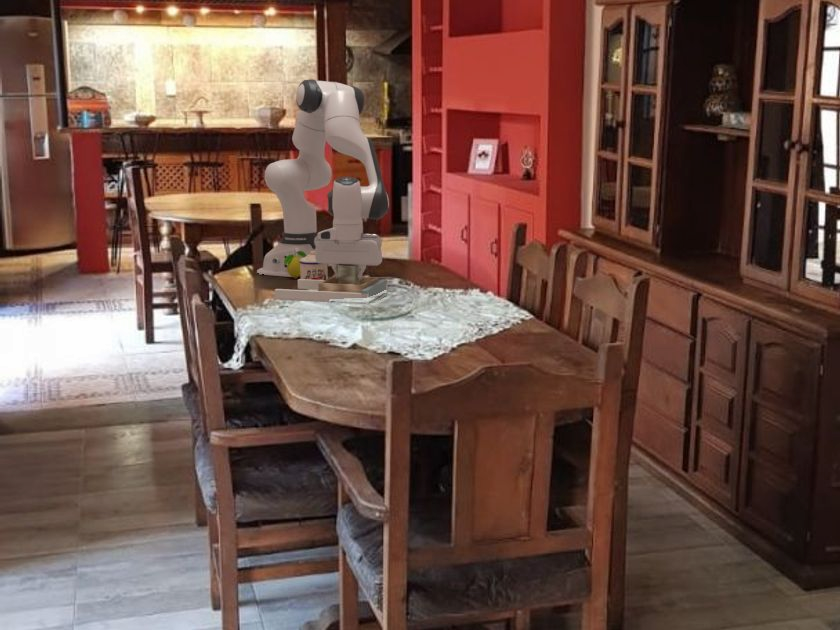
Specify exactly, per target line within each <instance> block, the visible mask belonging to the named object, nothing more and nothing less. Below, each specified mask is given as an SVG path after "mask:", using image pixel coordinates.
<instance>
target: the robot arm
mask: <svg viewBox="0 0 840 630" xmlns="http://www.w3.org/2000/svg"><path fill="white" fill-rule="evenodd" d="M295 97H296V99H295V100H296V105H297V107H298V109H299V113H298V116H297V119H296V122H295V125H294V130H293V133H292V137H291V140H292V144H293V145H294V146H295V148H296V149H297V150H298V151H299V153H298V156H297V158H293V159H292V158H289V159H280V160H277V161H274V162H271V163H269V164H268V165H267V166H266V168H265V171H264V182H265V185H266V186H267V188H268V189H269V190H270V191H272V192H273V193H274V194H275V195H276V197H277V199H278V201H279V203H280V206H281V209H282V215H283V216H282V217H283V229H284V231H283V232H281V233H280V234H278V235H277V239H278V240H279V243H278V244H277V245H275V246H274V247H273V248H272V249H271V250H270V251H268V252H267V253H266V254H265V256H264V257H263V265H262V267H260V268H258V269H257V270H256V274H257V273H259V274H258V275H262V274H264V276H275V277H276V276H277V277H289V278H294V277H293V276H291V275H289V273H288V271H287V264H288V263H287V264H284V260H285V258H286V257H287V256H288V255H293V257H294V256H296V257H298V258H300V259H301V258H303V257H301V256H300V255H298V254H297V253H296V252H299V251H303V252H304V253H305V254H306V255H310V252H311V251H315V260H316V261H317V263H322V264H332V266H331V269H332V270H333V273H334V272H335V273H336V279H338V265H341V264H348V265H359V268H360V272H359V273H357V274H356V280H362V278H363V277H364V276H363V273H365V270H366V269H367V266H374V267H376V266H379V265H380V264H381V263H382V262H383V253H382V245H383V244H382V241H383V240H382V237H381V236H380V235H378V234H377V233H364V225H363V223H364V221H363V219H370V220H380V219H382V218H383V217H384V216H386V215H387V213H388V212H389V207H390V199H389V195H388V193H387V191H386V188H385V184H384V180H383V177H382V173H381V169H380V165H379V162H378V161H379V160H378V157H377V153H376V150H375V146H374V143H373V141H372V140H371V138H369V137H367V136H366V135H365V133H364V132H363V131H362V128H361V118H360V116H361V115H362V113H363V111H364V107H365V95H364V93H363V91H362V89H360V88H359V87H357V86H354V85H347V84H344V83H341V82H337V81H327V80H325V81H324V80H315V79H311V78H310V79H303V80H302V81H301V83H300V84H299V85H298V87H297V91H296V96H295ZM326 143H327V144H328V145H329V146H330V147H331V148H332V149H333V150H335V151H337V153H340V154H343V155H346V156H349V157H352V158H354V159H357V160H358V161H360V162H361V163H362V164H363V166H364V168H365V172H366V176H367V179H368V184H369V185H368V186H367V185H366V186H361V183H360V180H359V179H358V178H356V177H351V176H343V177H341V176H340V177H338V178H336V179H335V180H334V181H333V187H332V189H331V190H329V192H328V193H327V194H326V197H327V208H328V209H327V213H328V214H329V215H331V216H332V217H333V220H332V227H329V228H327V229H324V230H322V231H319V232H318V230H317V229H318V228H317V211H316V207H314V206H313V205H312V204H311V203H309V202H308V201H307V199H306V196H305V194H304V192H307V191H316V190H319V189H321V188H325V187H327V186H328V185H329V184H330V183H331V181H332V177H333V173H332V172H333V171H332V170H333V169H332V168H331V165H330V163H329V162H328V161H327V159H326V157H325V147H326ZM294 249H295V250H294ZM295 251H296V252H295Z"/></svg>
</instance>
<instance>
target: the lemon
mask: <svg viewBox="0 0 840 630" xmlns="http://www.w3.org/2000/svg"><path fill="white" fill-rule="evenodd" d="M294 250H295V249H294ZM295 252H296V251H295ZM296 253H297V254H298V255H300V256H301V257H303V258H304V257H306V256H307V255H306V254H305V253H304V252H303V251H299V252H296ZM299 261H300V258H298V257H296V256H294V257H293V255H288V256H287V257H286V258H285V260H284V264H287V263H288V264H287V271H288V273H289V275H291V276H293V277H292V278H293V279H295V280H296V279H297V280H298V278H299V277H301V274H300V262H299Z"/></svg>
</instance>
